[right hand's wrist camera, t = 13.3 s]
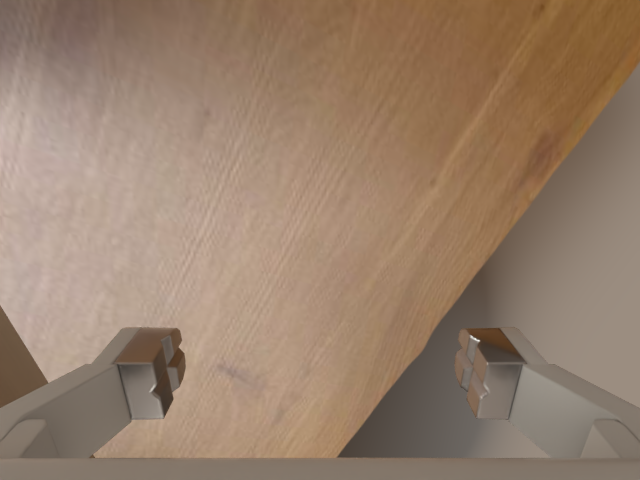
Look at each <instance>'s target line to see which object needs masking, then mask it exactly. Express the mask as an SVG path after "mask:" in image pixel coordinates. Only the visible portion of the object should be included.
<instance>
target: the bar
mask: <svg viewBox="0 0 640 480" xmlns="http://www.w3.org/2000/svg"><path fill="white" fill-rule="evenodd" d="M46 384H48V381H47V380H46V378H45V377H44V375H43V373H42V372H41V370H40V369H39V367H38V365H37V364H36V362H35V361H34V359H33V357H32V356H31V354H30V353H29V351H28V349H27V348H26V346H25V344H24V343H23V341H22V340H21V338H20V336H19V335H18V333H17V332H16V330H15V328H14V327H13V325H12V324H11V322H10V320H9V319H8V317H7V316H6V314H5V312H4V311H3V309H2V308H1V306H0V408H1V407H3V406H5V405H7V404H9V403H11V402H13V401H15V400H17V399H19V398H21V397H23V396H25V395H27V394H29V393H31V392H33V391H34V390H36V389H38V388H40V387H42V386H44V385H46ZM89 458H95V457H94V455H92V456H90V457H89Z"/></svg>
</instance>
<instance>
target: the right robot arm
mask: <svg viewBox="0 0 640 480" xmlns="http://www.w3.org/2000/svg"><path fill="white" fill-rule="evenodd" d="M181 341H182V338H181V333H180V330H179V329H177V328H149V327H143V328H142V327H126V328H123V329H121V330H120V332H119V333H118V334H117V335H116V336H115V337H114V339H113V340H112V341H111V342H110V343H109V344H108V345H107V347H106V348H105V349H104V350H103V351H102V352H101V354H100V355H99V356H98V357H97V358H96V359H95V360H94V362H93V363H92V364H85V365H83V366H81V367H79V368H77V369H75V370H73V371H72V372H70V373H68V374H66V375H64V376H62V377H60V378H58V379H56V380H54V381H52V382H50V383H48V384H46V385H44V386H42V387H40V388H38V389H36V390H34V391H33V392H31V393H29V394H27V395H25V396H23V397H21V398H19V399H17V400H15V401H13V402H11V403H9V404H7V405H5V406H3V407H1V408H0V480H640V408H638V407H636V406H635V405H633V404H631V403H629V402H627V401H625V400H623V399H621V398H619V397H617V396H615V395H613V394H611V393H609V392H607V391H605V390H603V389H601V388H600V387H598V386H596V385H594V384H592V383H590V382H588V381H586V380H584V379H582V378H580V377H578V376H576V375H574V374H572V373H570V372H568V371H566V370H565V369H563V368H561V367H559V366H557V365H555V364H548V363H547V362H546V361H545V359H544V358H543V357H542V356H541V355H540V354H539V352H538V351H537V350H536V349H535V348H534V347H533V345H532V344H531V343H530V342H529V341H528V340H527V339H526V337H525V336H524V335H523V334H522V333H521V332H520V330H519V329H517V328H515V327H501V328H463V329H461V331H460V333H459V338H458V341H459V343H460V345H461V347H462V348H461V349H460V350H459V351H458V352H457V353H456V356H455V373H456V377H457V380H458V382H459V384H460V386H461V387H462V388H463V389H464V390H466V391H467V392H468V394H467V401H468V403H469V405H470V407H471V409H472V411H473V413H474V415H475V417H476V419H499V420H509V422H510V423H511V424H512V425H513V426H515V427H516V428H517V429H518V430H519V431H520V432H522V433H523V434H524V435H525V436H526V437H527V438H529V439H530V440H531V441H532V442H533V443H535V444H536V445H537V446H538V447H539V448H540V449H542V450H543V451H544V452H545V453H546V454H547V455H549V456H550V457H551V458H89V457H90V456H92V455H93V454H94V453H95V452H96V451H97V450H99V449H100V448H101V447H102V446H103V445H104V444H106V443H107V442H108V441H109V440H110V439H111V438H113V437H114V436H115V435H116V434H117V433H119V432H120V431H121V430H122V429H123V428H124V427H126V426H127V425H128V424H129V423H130V422H131V420H140V419H164V417H165V415H166V413H167V411H168V409H169V407H170V405H171V403H172V401H173V394H172V392H173V391H174V390H176V389H177V388H178V387H180V384H181V382H182V380H183V377H184V372H185V355H184V353H183V352H182V351H181V350H180V349H179V348H178V347H179V345H180V343H181Z"/></svg>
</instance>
